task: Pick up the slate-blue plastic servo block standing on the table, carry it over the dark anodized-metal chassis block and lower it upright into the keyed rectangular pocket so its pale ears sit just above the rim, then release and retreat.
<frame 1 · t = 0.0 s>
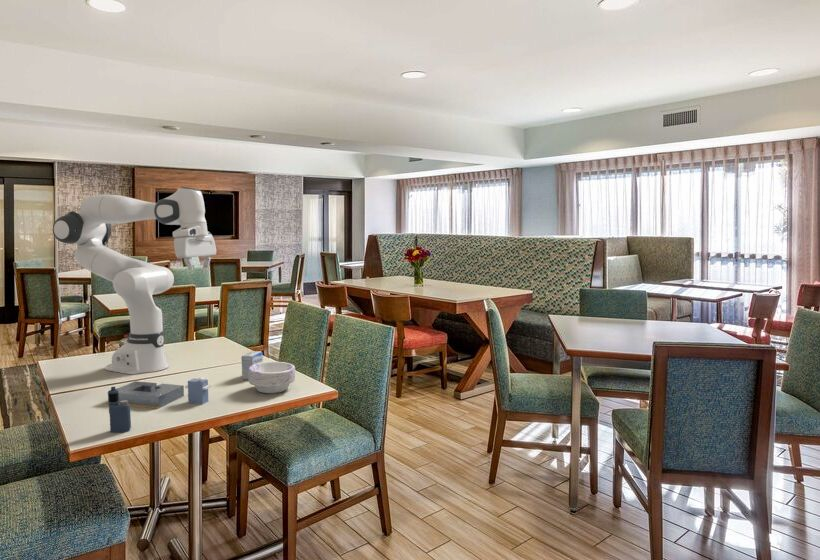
hand: (199, 269, 198), 39 cm above the table, tool pointing down, fingers open, 8 cm apart
paper bowls: (272, 390, 183), on the table
servo block: (198, 402, 169), on the table
medicine box: (252, 377, 198), on the table
vaping device: (120, 431, 145), on the table
chassis: (146, 399, 171), on the table
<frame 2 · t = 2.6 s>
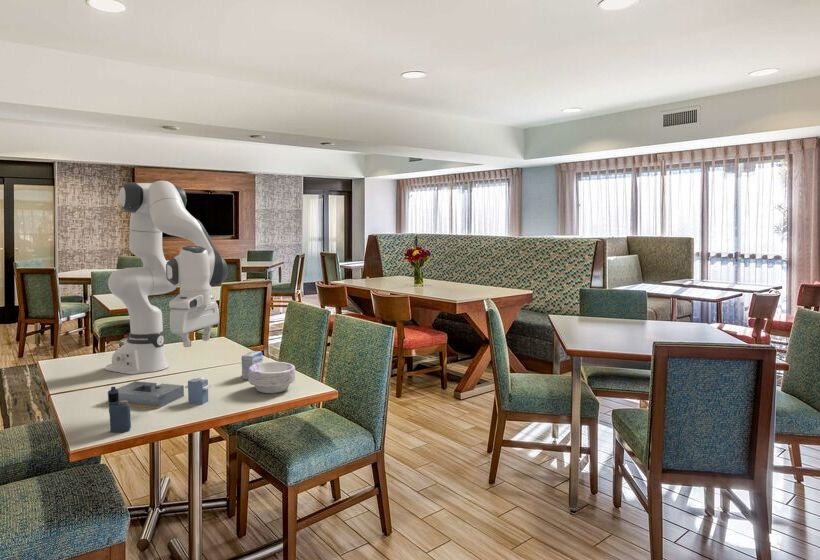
hand: (196, 343, 167), 19 cm above the table, tool pointing down, fingers open, 8 cm apart
nothing on the table moved.
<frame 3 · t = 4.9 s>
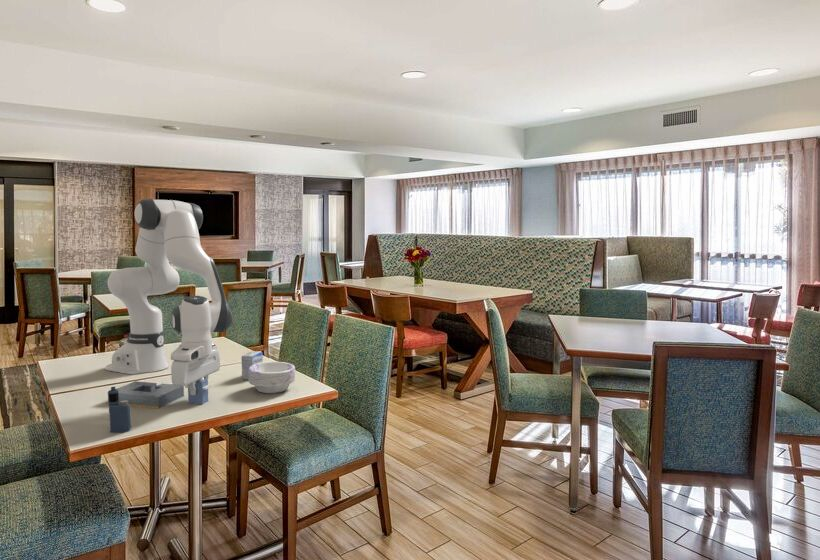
hand: (198, 392, 169), 3 cm above the table, tool pointing down, fingers closed on servo block, 3 cm apart
servo block: (198, 402, 169), on the table, touching gripper
everything else where it was.
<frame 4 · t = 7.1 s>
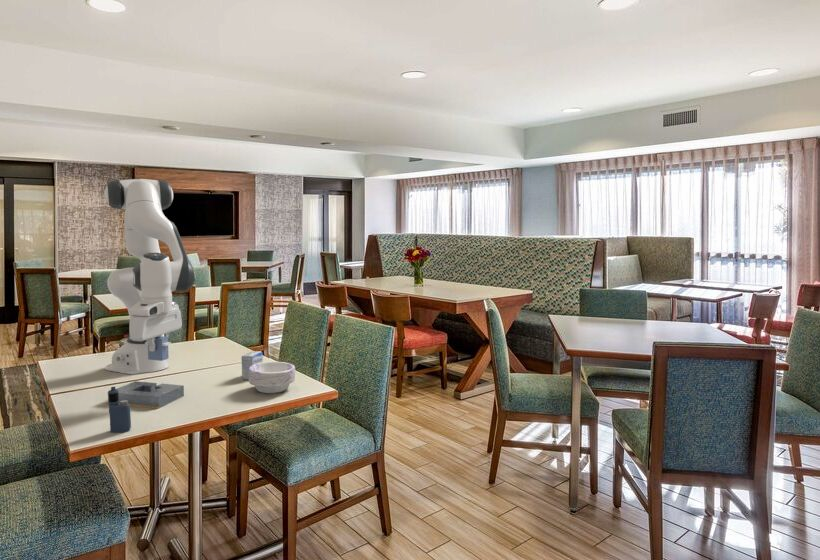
hand: (157, 349, 169), 16 cm above the table, tool pointing down, fingers closed on servo block, 3 cm apart
servo block: (158, 358, 170), point 13 cm above the table, touching gripper
everything else where it was.
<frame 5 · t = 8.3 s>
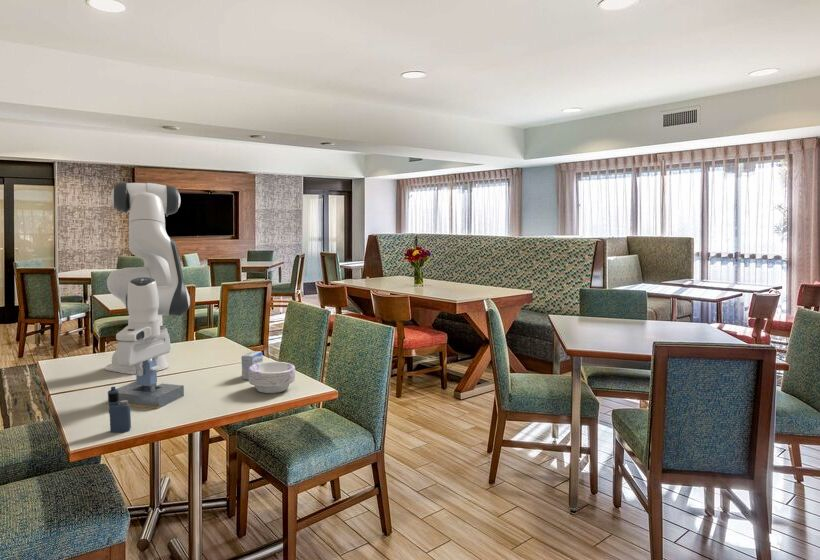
hand: (146, 373, 170), 8 cm above the table, tool pointing down, fingers closed on servo block, 3 cm apart
servo block: (146, 383, 170), point 5 cm above the table, touching gripper
everything else where it was.
when the fingers open (5 cm above the table, at t = 9.3 s): servo block drops 2 cm, resting in chassis.
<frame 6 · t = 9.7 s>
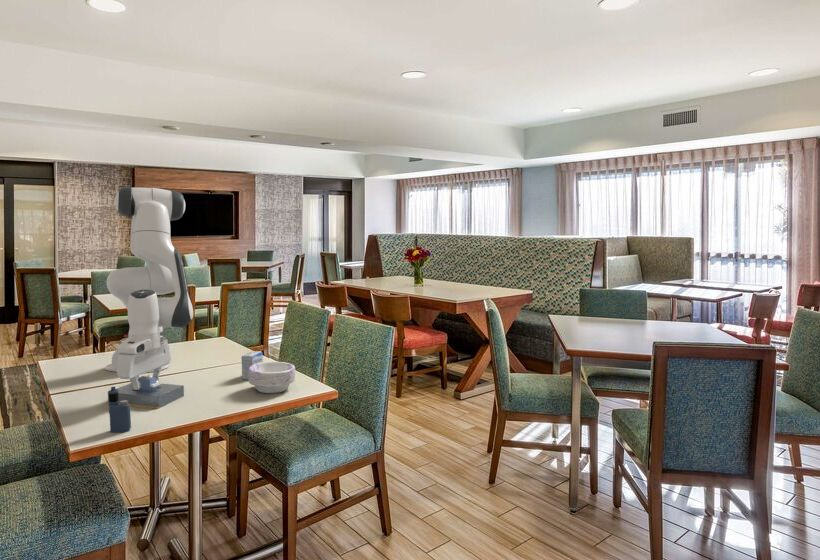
hand: (146, 385, 170), 5 cm above the table, tool pointing down, fingers open, 7 cm apart
servo block: (147, 399, 171), resting in chassis
everything else where it was.
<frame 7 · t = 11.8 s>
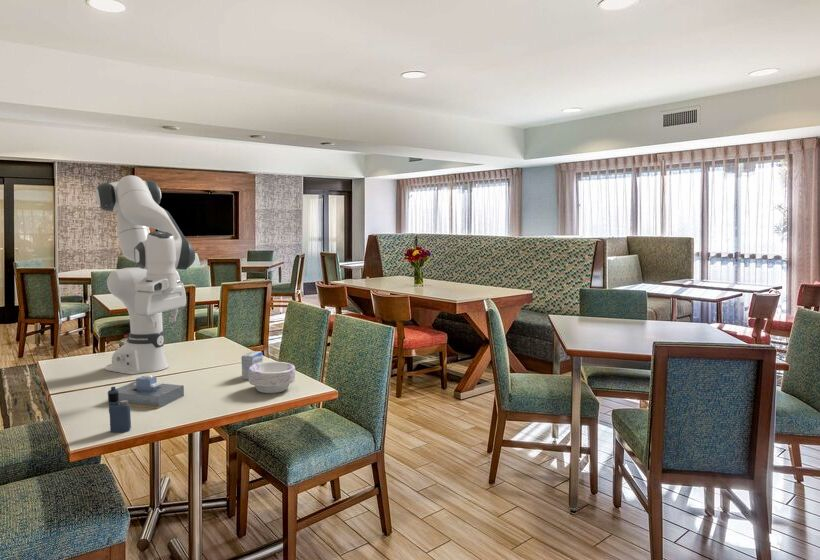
hand: (162, 324, 175), 23 cm above the table, tool pointing down, fingers open, 8 cm apart
nothing on the table moved.
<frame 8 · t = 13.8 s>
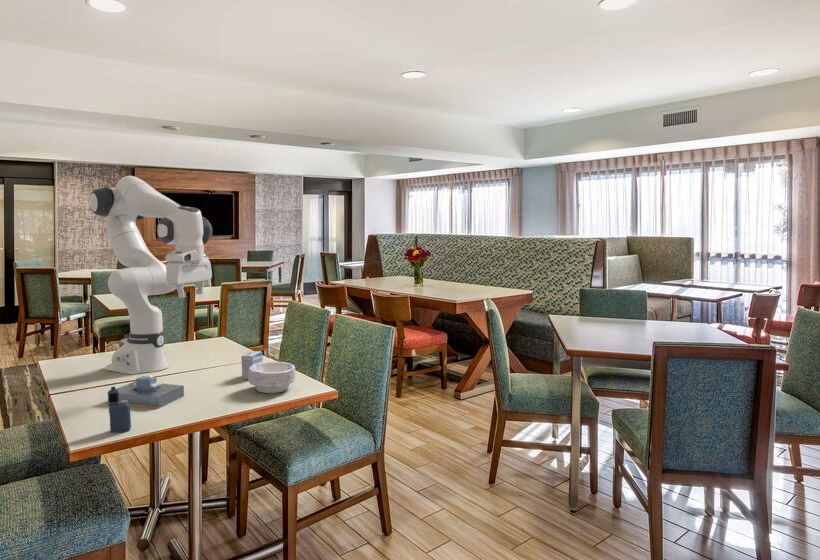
hand: (191, 295, 183), 31 cm above the table, tool pointing down, fingers open, 8 cm apart
nothing on the table moved.
at the end: servo block 0.0 cm off-centre on the chassis, point 0.0 cm above the chassis's base; servo block tilted 0°; the gripper is holding nothing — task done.
